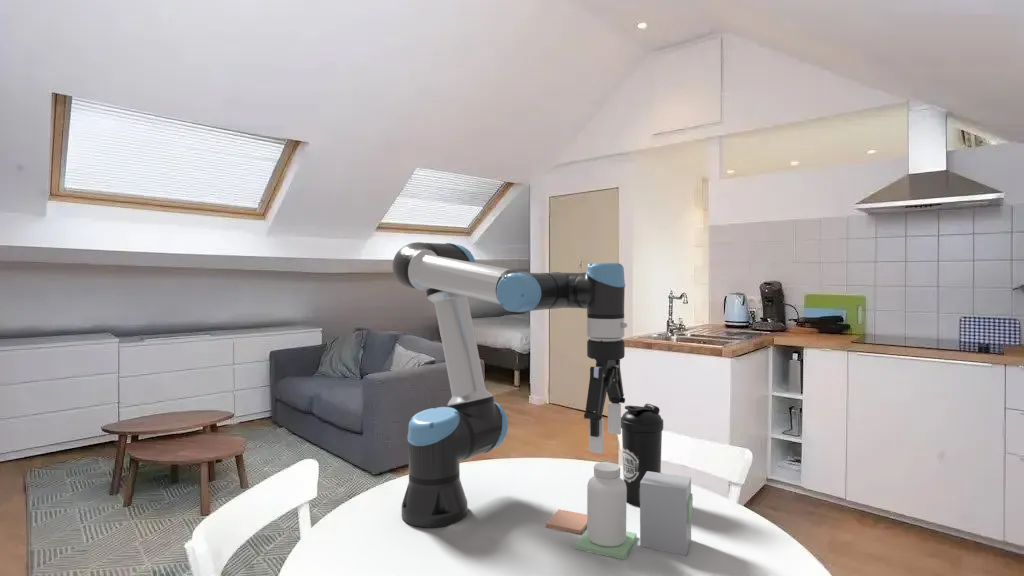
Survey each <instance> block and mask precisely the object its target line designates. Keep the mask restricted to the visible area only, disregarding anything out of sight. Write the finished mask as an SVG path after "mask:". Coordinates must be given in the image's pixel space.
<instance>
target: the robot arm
mask: <svg viewBox="0 0 1024 576" xmlns="http://www.w3.org/2000/svg"><path fill="white" fill-rule="evenodd" d="M392 272H393V274H394V277H395V279H396V281H397V282H398V283H399V284H401V286H403V287H406V288H409V289H414V290H417V291H418V290H419V291H425V292H426V297H427V300H429V301H430V302H431V303H433V304H434V308H435V311H436V318H437V323H438V330H439V333H440V339H441V343H442V349H443V354H444V360H445V366H446V370H447V375H448V382H449V387H450V388H449V389H450V391H451V393H450V394H451V397H450V399H449V400H448V403H447V406H439V407H435V408H434V407H431V408H428V409H424V410H421V411H419V412H417V413H415V414H414V415H413V416H412V417H411V418H410V420H409V422H408V431H407V432H408V433H407V442H408V443H407V444H408V446H407V447H408V483H407V487H406V490H405V493H404V497H403V500H402V503H401V518H402V520H403V521H404V523H407V524H409V525H411V526H415V527H419V528H441V527H446V526H450V525H453V524H456V523H458V522H460V521H461V520H463V519H464V518H465V517H466V516H467V514H468V499H467V496H466V494H465V491H464V488H463V485H462V481H461V477H460V476H461V474H460V462H462V461H465V460H467V459H471V458H472V457H475V456H478V455H480V454H485V453H487V454H488V453H489V452H490V451H492V450H494V449H496V448H498V447H500V446H501V445H502V444H503V442H504V440H505V438H506V437H507V433H508V427H509V419H508V415H507V413H506V410H505V409H504V408H502V406H501V404H499V403H498V402H495V400H494V395H493V393H491V392H490V391H488V390H487V388H486V385H485V381H484V375H483V370H482V364H481V359H480V354H479V349H478V344H477V339H476V334H475V329H474V325H473V319H472V315H471V314H472V313H471V309H470V304H469V299H468V298H470V299H471V298H472V299H476V300H479V301H485V302H489V303H493V304H496V305H500V306H501V307H502V308H503V309H504V310H505V311H508V312H513V313H527V312H531V311H532V312H534V311H544V310H554V309H567V308H568V309H586V336H587V337H588V338H589V339H587V341H586V346H587V347H586V356H587V357H588V358H589V359H592V360H594V361H596V362H595V366H590V368H589V383H588V389H587V390H588V391H587V398H586V403H585V404H586V405H585V413H584V414H583V418H584V419H585V420H586V419H587V420H588V452H589V453H595V454H602V455H603V454H604V418H603V413H604V409H605V408H604V407H605V403H606V397H608V403H607V434H614V435H622V428H621V417H622V404H625V402H626V398H625V397H624V395H625V393H624V387H623V380H622V373H621V360H622V359H624V357H625V353H626V351H625V347H626V346H625V345H626V343H625V341H624V340H623V339H622V338H624V337H625V328H627V327H628V323H626V322H625V294H626V293H625V288H626V280H625V268H624V265H622V264H621V263H620V262H590V263H588V264H587V267H586V272H560V271H556V272H526V271H522V270H517V269H510V268H505V267H499V266H495V265H488V264H483V263H477V262H476V259H475V257H474V255H473V253H472V252H471V251H470V250H469V249H468V248H466V247H465V246H463V245H460V244H454V243H452V242H450V243H449V242H446V243H438V242H436V243H435V242H422V241H421V242H418V241H417V242H411V243H408V244H406V245H404V246H402V247H401V248H400V249H399V250H397V252H396V253H395V255H394V258H393V261H392Z"/></svg>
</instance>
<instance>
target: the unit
mask: <svg viewBox="0 0 1024 576" xmlns="http://www.w3.org/2000/svg"><path fill="white" fill-rule="evenodd" d="M693 496H694V495H693V493H692V477H690V476H683V475H677V474H670V473H662V472H661V473H657V472H650V471H647V472H646V474H645V475H644V477H643V478H642V480H641V482H640V489H639V501H640V507H639V546H640V547H643V548H648V549H653V550H657V551H658V550H659V551H663V552H668V553H673V554H679V555H683V556H687V554H688V552H689V548H690V545H691V541H692V516H693V502H694V501H693Z"/></svg>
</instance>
